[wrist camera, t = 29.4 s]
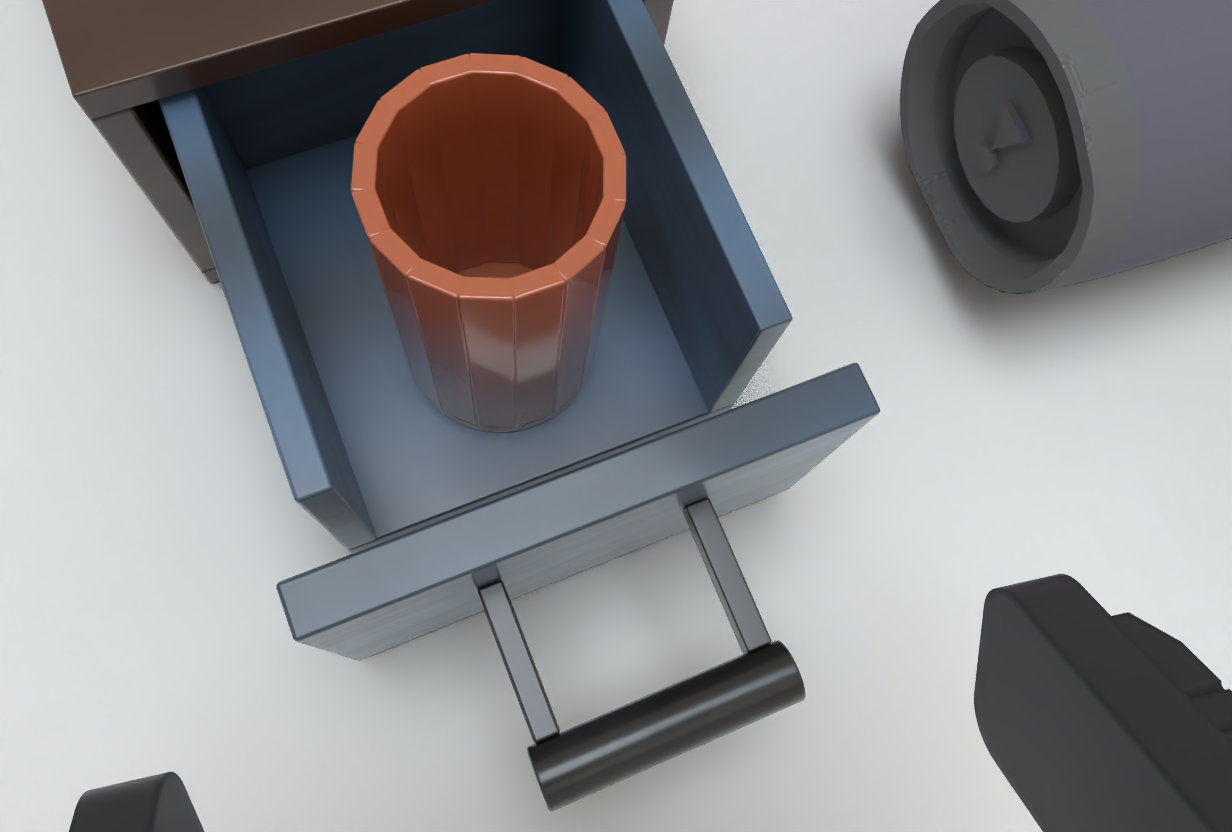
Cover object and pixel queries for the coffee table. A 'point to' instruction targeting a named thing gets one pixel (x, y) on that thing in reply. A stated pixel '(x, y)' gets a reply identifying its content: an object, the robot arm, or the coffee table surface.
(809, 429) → the blue pull-out drawer
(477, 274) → the tumbler
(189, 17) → the cabinet
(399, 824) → the coffee table surface
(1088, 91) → the bluetooth speaker
